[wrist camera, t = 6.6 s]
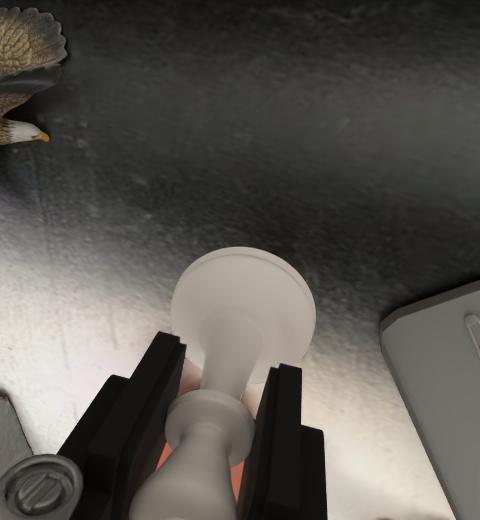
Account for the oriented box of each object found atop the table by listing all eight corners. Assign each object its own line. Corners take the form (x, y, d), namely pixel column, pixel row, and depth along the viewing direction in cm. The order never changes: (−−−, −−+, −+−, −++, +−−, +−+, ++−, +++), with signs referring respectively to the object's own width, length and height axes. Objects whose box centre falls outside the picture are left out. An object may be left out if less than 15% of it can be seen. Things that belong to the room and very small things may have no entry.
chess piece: (229, 395, 17) (132, 781, 7) (144, 295, 16) (-91, 597, 6) (344, 333, 15) (403, 725, 6) (258, 217, 14) (165, 469, 5)
